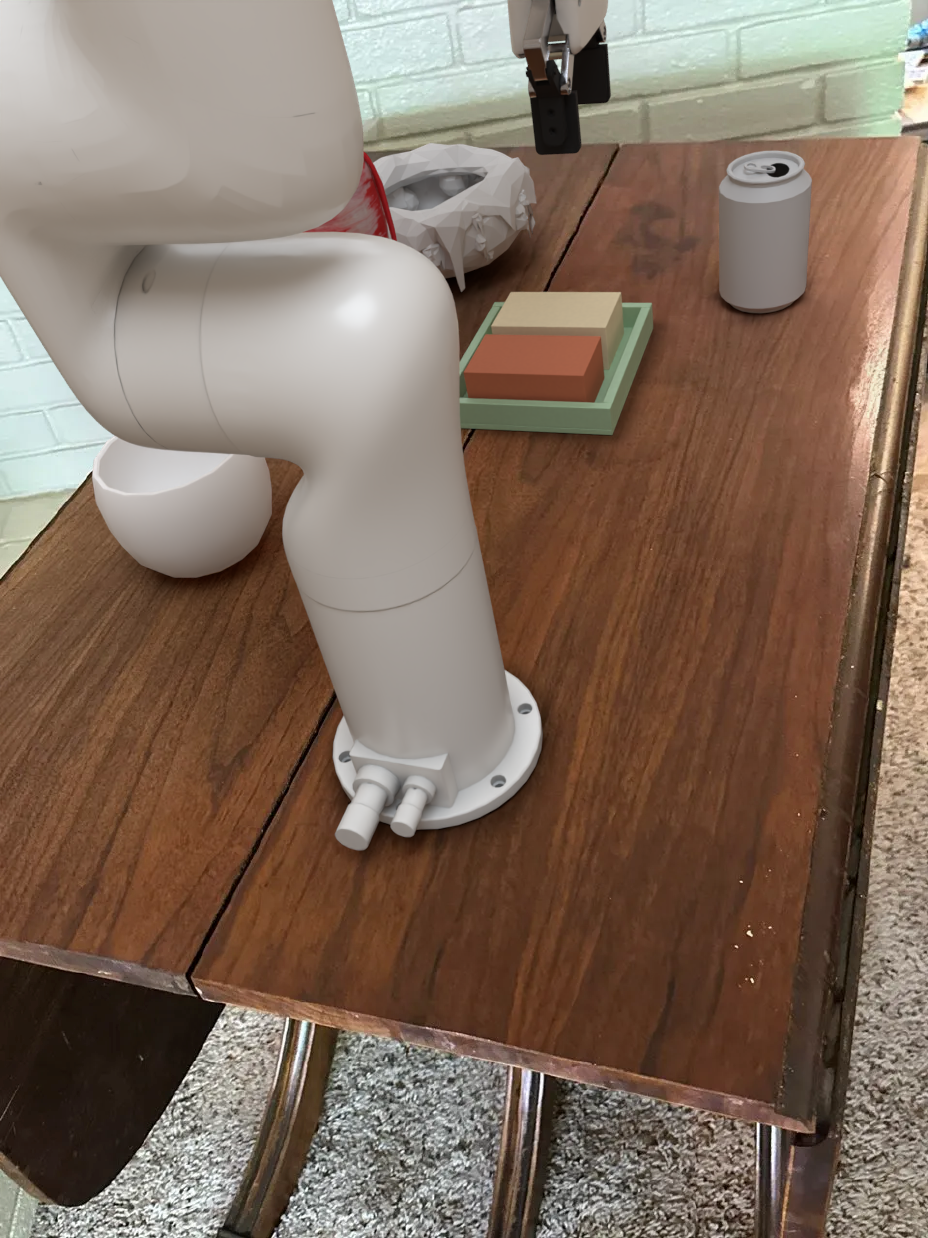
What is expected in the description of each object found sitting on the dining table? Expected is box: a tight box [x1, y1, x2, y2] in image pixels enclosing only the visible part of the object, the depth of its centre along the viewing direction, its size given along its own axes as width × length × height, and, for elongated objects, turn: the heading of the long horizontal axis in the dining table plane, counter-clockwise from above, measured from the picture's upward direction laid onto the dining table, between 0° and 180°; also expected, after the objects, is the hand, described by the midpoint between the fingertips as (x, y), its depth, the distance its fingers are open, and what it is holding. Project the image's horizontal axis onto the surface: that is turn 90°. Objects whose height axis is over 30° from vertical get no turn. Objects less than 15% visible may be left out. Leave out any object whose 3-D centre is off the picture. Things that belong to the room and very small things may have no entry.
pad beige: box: [491, 291, 624, 370], centre depth 94 cm, size 6×10×4 cm, turn 72°
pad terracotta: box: [464, 334, 604, 403], centre depth 89 cm, size 6×10×4 cm, turn 72°
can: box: [718, 150, 813, 314], centre depth 93 cm, size 8×8×12 cm
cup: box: [91, 435, 273, 579], centre depth 80 cm, size 12×12×10 cm
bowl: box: [372, 142, 537, 293], centre depth 109 cm, size 21×20×10 cm
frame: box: [459, 301, 654, 436], centre depth 93 cm, size 17×15×2 cm
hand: (575, 126), depth 80 cm, fingers open, 9 cm apart
